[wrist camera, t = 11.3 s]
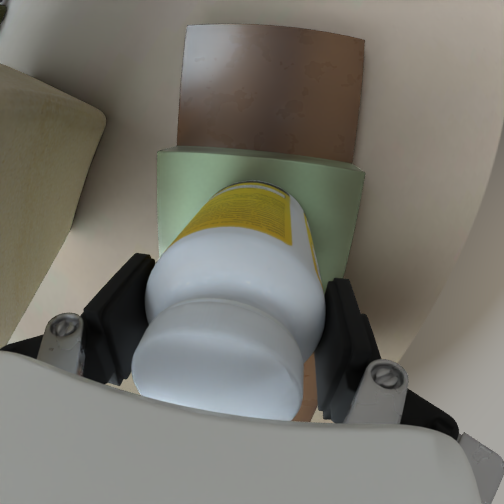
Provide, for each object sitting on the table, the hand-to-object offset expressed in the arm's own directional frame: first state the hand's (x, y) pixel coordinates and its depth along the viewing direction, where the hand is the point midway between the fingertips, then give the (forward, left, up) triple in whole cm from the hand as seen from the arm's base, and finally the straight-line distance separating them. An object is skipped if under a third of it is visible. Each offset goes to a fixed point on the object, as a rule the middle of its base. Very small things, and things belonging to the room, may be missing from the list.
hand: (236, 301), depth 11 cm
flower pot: (+21, -4, -13) cm, 25 cm away
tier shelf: (0, 0, -13) cm, 13 cm away
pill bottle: (0, 0, -7) cm, 7 cm away
